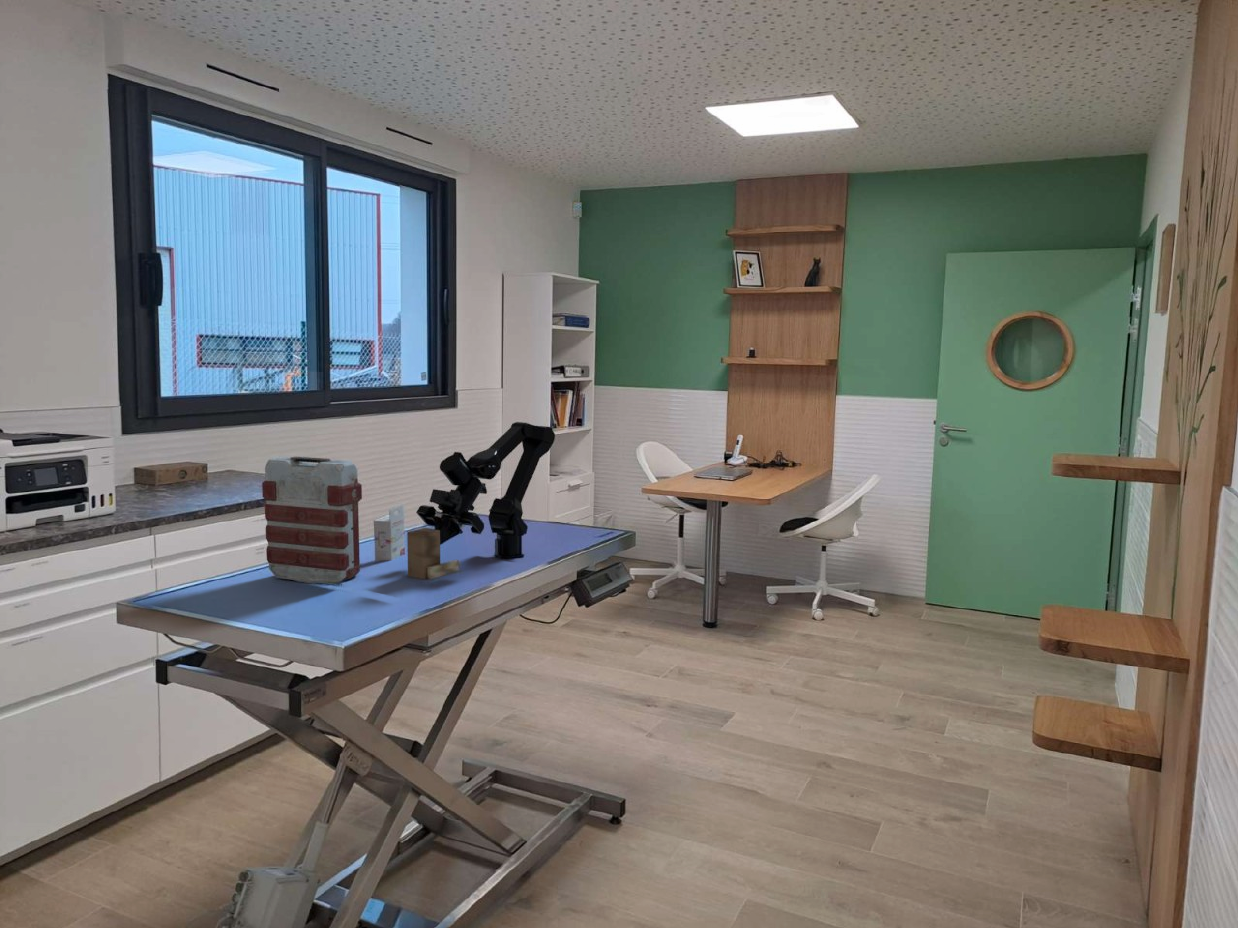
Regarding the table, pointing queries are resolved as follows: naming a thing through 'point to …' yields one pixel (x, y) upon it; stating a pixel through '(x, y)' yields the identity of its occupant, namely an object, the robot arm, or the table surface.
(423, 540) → the block
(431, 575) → the chute
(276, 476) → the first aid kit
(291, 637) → the table surface
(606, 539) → the table surface
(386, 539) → the ink cartridge box
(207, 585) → the table surface
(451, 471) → the robot arm
